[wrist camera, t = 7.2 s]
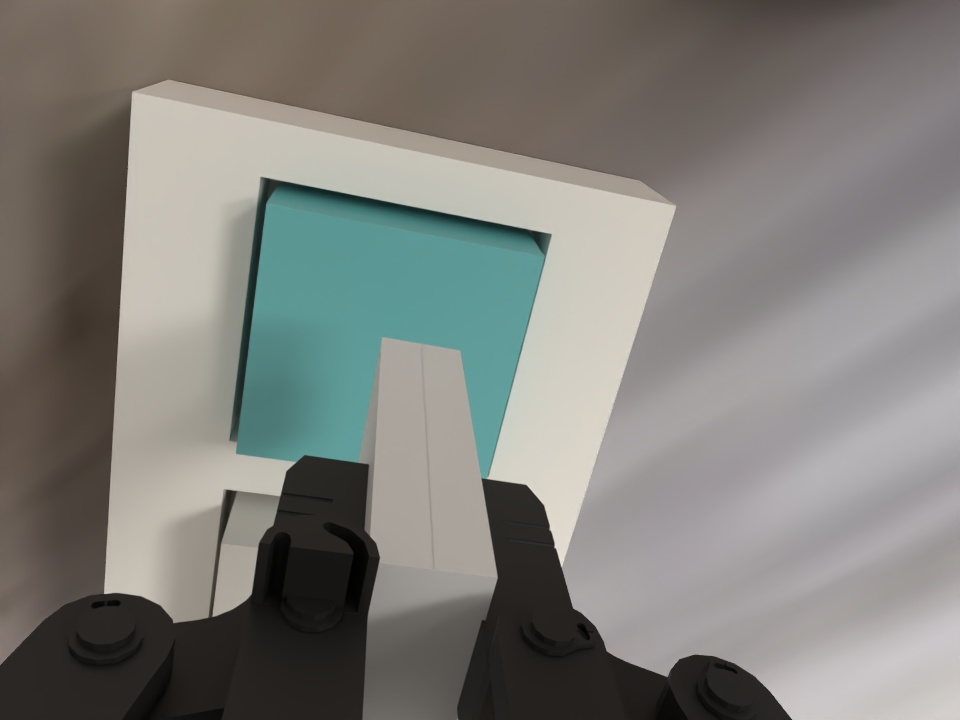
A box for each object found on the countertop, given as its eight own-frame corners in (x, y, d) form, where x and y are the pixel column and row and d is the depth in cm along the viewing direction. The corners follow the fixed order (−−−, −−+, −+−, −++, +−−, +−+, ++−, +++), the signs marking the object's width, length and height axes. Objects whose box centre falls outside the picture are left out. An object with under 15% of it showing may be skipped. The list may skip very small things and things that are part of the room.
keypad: (639, 180, 21) (676, 206, 19) (447, 826, 31) (453, 907, 28) (168, 79, 19) (131, 91, 16) (116, 809, 28) (87, 894, 26)
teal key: (523, 223, 20) (544, 256, 18) (472, 429, 23) (484, 487, 20) (283, 175, 19) (266, 203, 17) (255, 396, 21) (235, 453, 19)
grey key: (459, 503, 23) (470, 572, 20) (419, 665, 25) (423, 746, 22) (242, 475, 22) (221, 543, 19) (219, 647, 24) (198, 730, 21)
